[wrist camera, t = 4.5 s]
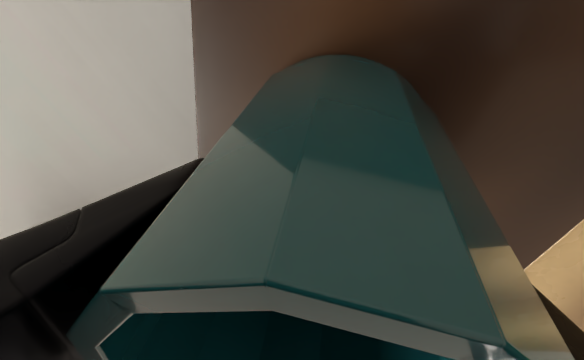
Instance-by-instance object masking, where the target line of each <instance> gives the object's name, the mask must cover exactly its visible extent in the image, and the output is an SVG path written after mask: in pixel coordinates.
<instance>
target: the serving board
mask: <svg viewBox="0 0 584 360" xmlns="http://www.w3.org/2000/svg"><path fill="white" fill-rule="evenodd" d="M191 13H192V34H193V55H194V77H195V98H196V119H197V141H198V159H199V158H205V157H206V156H207V155H208V153H209V152H210V151H211V150H212V148H213V147H214V146H215V145H216V143H217V142H218V141H219V140H220V138H221V137H222V136H223V135H224V133H225V132H226V131H227V130H228V129H229V127H230V126H231V125H232V124H233V122H234V121H235V120H236V119H237V117H238V116H239V115H240V114H241V112H242V111H243V110H244V109H245V107H246V106H247V105H248V104H249V102H250V101H251V100H252V99H253V97H254V96H255V95H256V94H257V93H258V91H259V90H260V89H261V88H262V86H263V85H264V84H265V83H266V81H267V80H268V79H269V78H270V76H271V75H273V74H275V73H278V72H280V71H282V70H283V69H285V68H287V67H288V66H290V65H293V64H295V63H297V62H300V61H302V60H305V59H309V58H313V57H316V56H324V55H352V56H358V57H363V58H366V59H370V60H373V61H376V62H378V63H380V64H382V65H385V66H387V67H389V68H391V69H393V70H395V71H396V72H397V73H398V74H399V75H401V76H402V77H403V78H404V79H405V80H407V81H408V82H409V83H410V84H411V85H412V86H413V88H414V89H415V90H416V91H417V93H418V94H419V95H420V97H421V98H422V100H423V101H424V102H425V103H426V104H427V105H428V106H429V107H430V108H431V110H432V111H433V112H434V113H435V115H436V117H437V118H438V120H439V122H440V124H441V125H442V127H443V129H444V131H445V132H446V134H447V136H448V138H449V139H450V141H451V143H452V145H453V146H454V148H455V150H456V152H457V154H458V155H459V157H460V159H461V161H462V162H463V164H464V166H465V168H466V169H467V171H468V173H469V175H470V176H471V178H472V180H473V182H474V183H475V185H476V187H477V189H478V190H479V192H480V194H481V196H482V197H483V199H484V201H485V203H486V205H487V206H488V208H489V210H490V212H491V213H492V215H493V217H494V219H495V220H496V222H497V224H498V226H499V227H500V229H501V231H502V233H503V234H504V236H505V238H506V240H507V241H508V243H509V245H510V247H511V248H512V250H513V252H514V254H515V256H516V257H517V259H518V261H519V263H520V264H521V266H522V268H523V270H524V271H525V273H526V275H527V277H528V278H529V280H530V282H531V284H532V285H533V286H534V287H536V288H537V289H538V290H539V291H540V292H541V293H542V294H543V295H544V296H545V297H546V298H547V299H549V300H550V301H551V302H552V303H553V304H554V305H555V306H556V307H557V308H558V309H559V310H561V311H562V312H563V313H564V314H565V315H566V316H567V317H568V318H569V319H570V320H571V321H572V322H574V323H575V324H576V325H577V326H578V327H579V328H580V329H581V330H582V331H583V332H584V0H191Z"/></svg>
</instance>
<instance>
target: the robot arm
mask: <svg viewBox="0 0 584 360" xmlns="http://www.w3.org/2000/svg"><path fill="white" fill-rule="evenodd" d="M203 160H204V158H199V159H197V160H194V161H192V162H190V163H187V164H185V165H182V166H180V167H178V168H175V169H173V170H171V171H168V172H166V173H163V174H161V175H159V176H156V177H154V178H152V179H149V180H147V181H144V182H142V183H140V184H137V185H135V186H132V187H130V188H128V189H125V190H123V191H121V192H118V193H116V194H113V195H111V196H109V197H106V198H104V199H102V200H99V201H97V202H94V203H92V204H90V205H87V206H85V207H83V208H82V209H81V210H80V209H78V210H75V211H73V212H70V213H68V214H66V215H63V216H61V217H58V218H56V219H53V220H51V221H48V222H46V223H43V224H41V225H38V226H36V227H33V228H31V229H28V230H25V231H22V232H20V233H17V234H14V235H11V236H9V237H6V238H3V239H0V360H84V358H83V357H82V356H81V354H80V353H79V352H78V351H77V349H76V348H75V347H74V345H73V344H72V343H71V341H70V340H69V339H68V338H67V335H66V334H67V331H68V330H69V329H70V327H71V326H72V325H73V323H74V322H75V321H76V319H77V318H78V317H79V315H80V314H81V313H82V311H83V310H84V309H85V307H86V306H87V305H88V303H89V302H90V301H91V299H92V298H93V297H94V296H95V294H96V293H97V292H98V290H99V289H100V288H101V286H102V285H103V284H104V283H105V281H106V280H107V279H108V278H109V276H110V275H111V274H112V273H113V271H114V270H115V269H116V268H117V266H118V265H119V264H120V263H121V261H122V260H123V259H124V258H125V256H126V255H127V254H128V253H129V252H130V250H131V249H132V248H133V247H134V245H135V244H136V243H137V242H138V240H139V239H140V238H141V237H142V235H143V234H144V233H145V232H146V230H147V229H148V228H149V227H150V225H151V224H152V223H153V222H154V220H155V219H156V218H157V217H158V215H159V214H160V213H161V212H162V211H163V209H164V208H165V207H166V206H167V204H168V203H169V202H170V201H171V199H172V198H173V197H174V196H175V194H176V193H177V192H178V191H179V189H180V188H181V187H182V186H183V184H184V183H185V182H186V181H187V179H188V178H189V177H190V176H191V174H192V173H193V172H194V171H195V170H196V168H197V167H198V166H199V165H200V163H201V162H202V161H203ZM533 287H534V286H533ZM534 289H535V291H536V292H537V294H538V296H539V298H540V299H541V301H542V303H543V305H544V307H545V308H546V310H547V312H548V314H549V315H550V317H551V319H552V321H553V322H554V324H555V326H556V328H557V329H558V331H559V333H560V335H561V336H562V338H563V340H564V342H565V343H566V345H567V347H568V349H569V350H570V352H571V354H572V356H573V358H574V359H575V360H584V332H583V331H582V330H581V329H580V328H579V327H578V326H577V325H576V324H575V323H574V322H572V321H571V320H570V319H569V318H568V317H567V316H566V315H565V314H564V313H563V312H562V311H561V310H559V309H558V308H557V307H556V306H555V305H554V304H553V303H552V302H551V301H550V300H549V299H547V298H546V297H545V296H544V295H543V294H542V293H541V292H540V291H539V290H538V289H537V288H536V287H534Z"/></svg>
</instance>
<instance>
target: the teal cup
mask: <svg viewBox="0 0 584 360" xmlns="http://www.w3.org/2000/svg"><path fill="white" fill-rule="evenodd" d="M66 335H67V338H68V339H69V340H70V341H71V343H72V344H73V345H74V347H75V348H76V349H77V351H78V352H79V353H80V354H81V356H82V357H83V358H84V360H575V359H574V358H573V356H572V354H571V352H570V350H569V349H568V347H567V345H566V343H565V342H564V340H563V338H562V336H561V335H560V333H559V331H558V329H557V328H556V326H555V324H554V322H553V321H552V319H551V317H550V315H549V314H548V312H547V310H546V308H545V307H544V305H543V303H542V301H541V299H540V298H539V296H538V294H537V292H536V291H535V289H534V287H533V285H532V284H531V282H530V280H529V278H528V277H527V275H526V273H525V271H524V270H523V268H522V266H521V264H520V263H519V261H518V259H517V257H516V256H515V254H514V252H513V250H512V248H511V247H510V245H509V243H508V241H507V240H506V238H505V236H504V234H503V233H502V231H501V229H500V227H499V226H498V224H497V222H496V220H495V219H494V217H493V215H492V213H491V212H490V210H489V208H488V206H487V205H486V203H485V201H484V199H483V197H482V196H481V194H480V192H479V190H478V189H477V187H476V185H475V183H474V182H473V180H472V178H471V176H470V175H469V173H468V171H467V169H466V168H465V166H464V164H463V162H462V161H461V159H460V157H459V155H458V154H457V152H456V150H455V148H454V146H453V145H452V143H451V141H450V139H449V138H448V136H447V134H446V132H445V131H444V129H443V127H442V125H441V124H440V122H439V120H438V118H437V117H436V115H435V113H434V112H433V111H432V110H431V108H430V107H429V106H428V105H427V104H426V103H425V102H424V101H423V100H422V98H421V97H420V95H419V94H418V93H417V91H416V90H415V89H414V88H413V86H412V85H411V84H410V83H409V82H408V81H407V80H405V79H404V78H403V77H402V76H401V75H399V74H398V73H397V72H396V71H395V70H393V69H391V68H389V67H387V66H385V65H382V64H380V63H378V62H376V61H373V60H370V59H366V58H363V57H358V56H352V55H324V56H316V57H313V58H309V59H305V60H302V61H300V62H297V63H295V64H293V65H290V66H288V67H287V68H285V69H283V70H282V71H280V72H278V73H275V74H273V75H271V76H270V78H269V79H268V80H267V81H266V83H265V84H264V85H263V86H262V88H261V89H260V90H259V91H258V93H257V94H256V95H255V96H254V97H253V99H252V100H251V101H250V102H249V104H248V105H247V106H246V107H245V109H244V110H243V111H242V112H241V114H240V115H239V116H238V117H237V119H236V120H235V121H234V122H233V124H232V125H231V126H230V127H229V129H228V130H227V131H226V132H225V133H224V135H223V136H222V137H221V138H220V140H219V141H218V142H217V143H216V145H215V146H214V147H213V148H212V150H211V151H210V152H209V153H208V155H207V156H206V157H205V158H204V160H203V161H202V162H201V163H200V165H199V166H198V167H197V168H196V170H195V171H194V172H193V173H192V174H191V176H190V177H189V178H188V179H187V181H186V182H185V183H184V184H183V186H182V187H181V188H180V189H179V191H178V192H177V193H176V194H175V196H174V197H173V198H172V199H171V201H170V202H169V203H168V204H167V206H166V207H165V208H164V209H163V211H162V212H161V213H160V214H159V215H158V217H157V218H156V219H155V220H154V222H153V223H152V224H151V225H150V227H149V228H148V229H147V230H146V232H145V233H144V234H143V235H142V237H141V238H140V239H139V240H138V242H137V243H136V244H135V245H134V247H133V248H132V249H131V250H130V252H129V253H128V254H127V255H126V256H125V258H124V259H123V260H122V261H121V263H120V264H119V265H118V266H117V268H116V269H115V270H114V271H113V273H112V274H111V275H110V276H109V278H108V279H107V280H106V281H105V283H104V284H103V285H102V286H101V288H100V289H99V290H98V292H97V293H96V294H95V296H94V297H93V298H92V299H91V301H90V302H89V303H88V305H87V306H86V307H85V309H84V310H83V311H82V313H81V314H80V315H79V317H78V318H77V319H76V321H75V322H74V323H73V325H72V326H71V327H70V329H69V330H68V331H67V334H66Z"/></svg>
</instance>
